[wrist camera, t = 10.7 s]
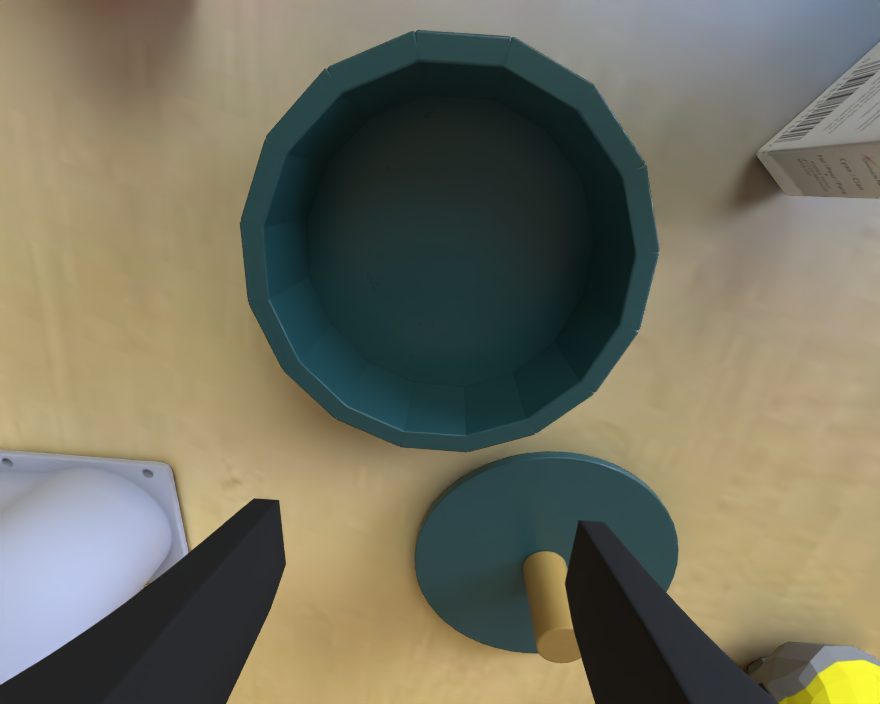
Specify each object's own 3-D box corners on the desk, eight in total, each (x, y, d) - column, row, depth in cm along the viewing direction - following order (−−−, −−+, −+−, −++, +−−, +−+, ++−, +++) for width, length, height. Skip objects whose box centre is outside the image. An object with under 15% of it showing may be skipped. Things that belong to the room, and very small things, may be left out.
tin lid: (411, 625, 25) (401, 729, 20) (422, 433, 20) (412, 509, 15) (634, 643, 25) (677, 751, 20) (700, 454, 20) (777, 537, 15)
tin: (303, 383, 19) (261, 437, 15) (285, 64, 15) (217, 15, 11) (573, 403, 19) (607, 463, 15) (638, 89, 15) (711, 49, 10)
